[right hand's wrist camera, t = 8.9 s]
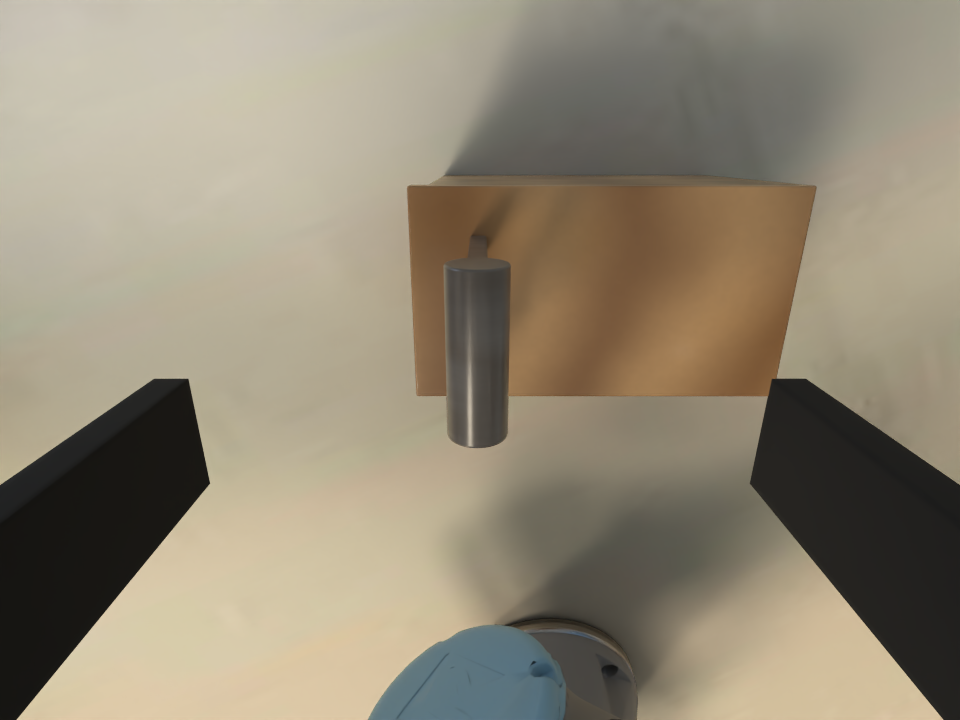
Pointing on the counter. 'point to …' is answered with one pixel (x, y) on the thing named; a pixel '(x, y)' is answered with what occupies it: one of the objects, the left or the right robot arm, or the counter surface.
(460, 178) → the chest
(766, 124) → the counter surface
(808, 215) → the lid
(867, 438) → the right robot arm
